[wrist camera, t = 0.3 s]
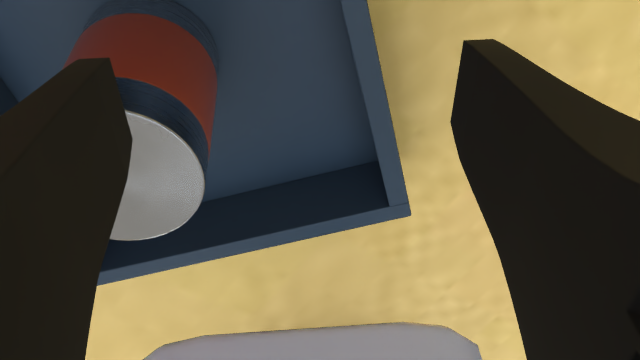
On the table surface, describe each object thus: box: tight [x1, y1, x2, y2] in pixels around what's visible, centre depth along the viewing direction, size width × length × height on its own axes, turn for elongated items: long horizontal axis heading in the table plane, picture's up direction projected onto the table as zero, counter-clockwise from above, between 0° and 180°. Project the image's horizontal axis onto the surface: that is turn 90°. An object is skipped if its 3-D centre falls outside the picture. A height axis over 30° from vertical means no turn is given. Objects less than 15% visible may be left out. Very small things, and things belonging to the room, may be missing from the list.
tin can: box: [62, 0, 219, 241], centre depth 19 cm, size 5×5×7 cm
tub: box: [0, 0, 411, 286], centre depth 21 cm, size 16×15×4 cm
